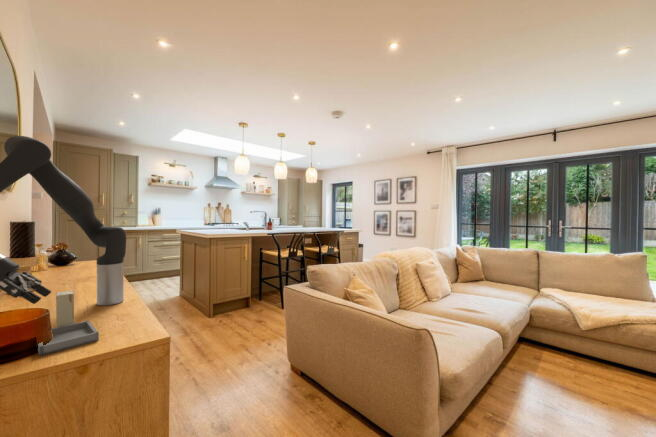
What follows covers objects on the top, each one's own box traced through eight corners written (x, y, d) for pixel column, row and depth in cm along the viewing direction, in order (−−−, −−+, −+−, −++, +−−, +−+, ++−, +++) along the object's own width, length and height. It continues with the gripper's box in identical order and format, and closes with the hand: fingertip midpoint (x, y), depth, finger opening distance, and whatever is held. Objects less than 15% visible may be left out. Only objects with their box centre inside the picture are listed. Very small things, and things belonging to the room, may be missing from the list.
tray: (35, 340, 85) (35, 332, 85) (88, 327, 95) (88, 320, 95) (39, 356, 76) (39, 347, 76) (98, 340, 85) (98, 332, 85)
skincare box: (74, 329, 93) (74, 293, 93) (56, 333, 90) (56, 296, 90) (73, 324, 97) (73, 289, 97) (56, 327, 94) (56, 292, 94)
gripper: (-9, 259, 80) (46, 294, 86) (15, 253, 92) (61, 283, 98) (-37, 280, 78) (22, 314, 83) (-8, 271, 90) (41, 301, 96)
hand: (43, 297), depth 91 cm, fingers open, 8 cm apart
